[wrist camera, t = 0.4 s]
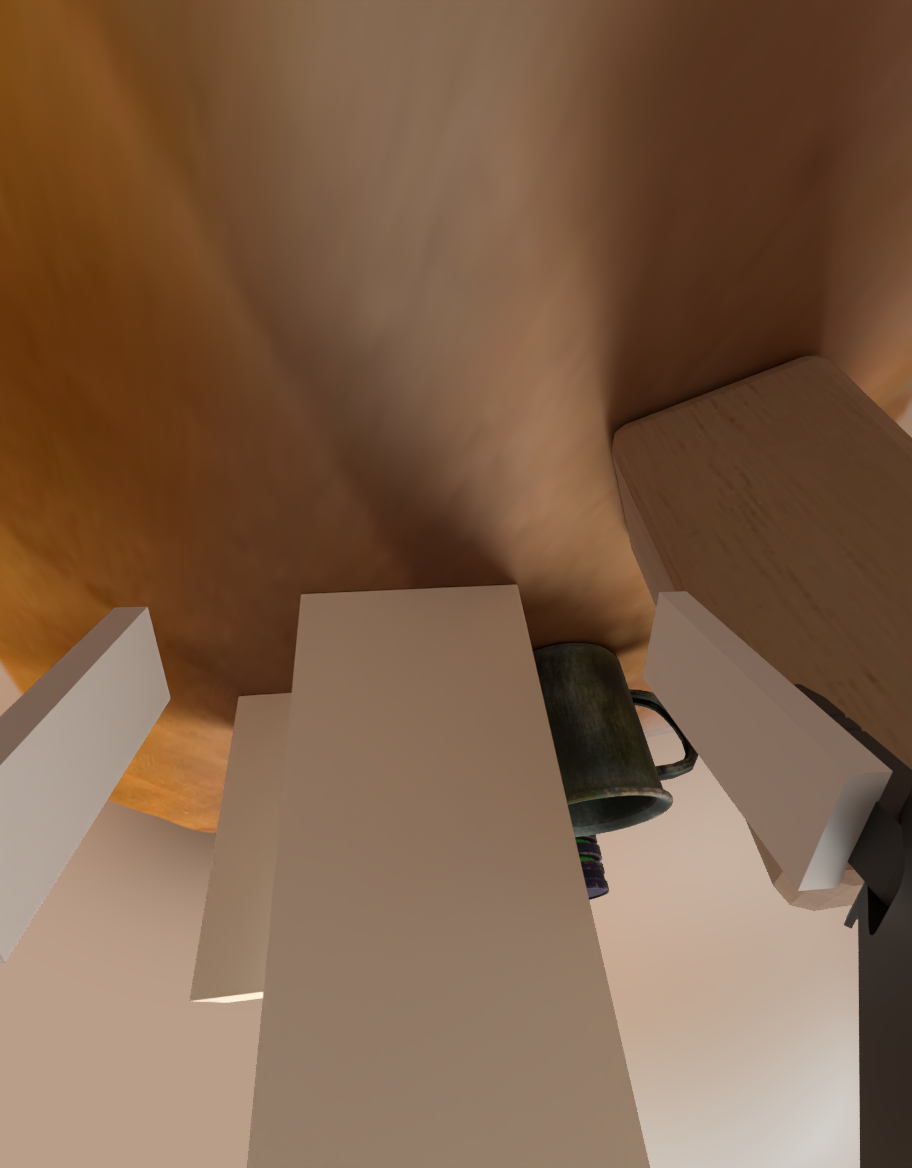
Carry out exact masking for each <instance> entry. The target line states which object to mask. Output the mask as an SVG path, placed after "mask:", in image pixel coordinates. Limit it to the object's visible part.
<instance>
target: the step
mask: <svg viewBox="0 0 912 1168" xmlns="http://www.w3.org/2000/svg"><path fill="white" fill-rule="evenodd" d="M291 695H292V693H280V694H265V695H249V696H239V697H238V704H237V710H236V716H235V722H234V728H233V735H232V741H231V747H230V753H229V759H228V766H227V772H226V778H225V784H224V790H223V797H222V803H221V809H220V815H219V821H218V828H217V834H216V840H215V847H214V853H213V858H212V865H211V871H210V877H209V883H208V890H207V896H206V902H205V908H204V915H203V921H202V927H201V933H200V939H199V945H198V952H197V958H196V964H195V970H194V976H193V983H192V989H191V995H190V1001H200V1002H201V1001H202V1002H224V1003H228V1002H236V1001H243V1000H251V999H259V998H263V992H264V981H265V971H266V960H267V949H268V939H269V928H270V918H271V907H272V896H273V886H274V875H275V864H276V854H277V843H278V833H279V822H280V811H281V801H282V790H283V779H284V769H285V758H286V748H287V737H288V726H289V716H290V705H291Z"/></svg>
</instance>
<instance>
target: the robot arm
mask: <svg viewBox="0 0 912 1168" xmlns="http://www.w3.org/2000/svg"><path fill="white" fill-rule="evenodd" d="M643 679H644V680H645V682H646V683H647V684H648V686H649V687H650V688H651V690H652V691H653V693H654V694H655V695H656V697H657V698H658V699H659V701H660V702H661V704H662V705H663V706H664V708H665V709H666V710H667V712H668V713H669V715H670V716H671V717H672V719H673V720H674V721H675V723H676V724H677V726H678V727H679V728H680V730H681V731H682V732H683V734H684V735H685V737H686V738H687V739H688V741H689V742H690V744H691V745H692V746H693V748H694V749H695V750H696V752H697V753H698V755H699V756H700V757H701V759H702V760H703V761H704V763H705V764H706V765H707V767H708V768H709V769H710V771H711V772H712V774H713V775H714V777H715V778H716V779H717V781H718V782H719V783H720V785H721V786H722V787H723V789H724V790H725V792H726V793H727V794H728V796H729V797H730V798H731V800H732V801H733V803H734V804H735V805H736V807H737V808H738V810H739V811H740V812H741V814H742V815H743V816H744V818H745V819H746V821H747V822H748V823H749V825H750V826H751V827H752V829H753V830H754V832H755V833H756V834H757V836H758V837H759V838H760V840H761V841H762V843H763V844H764V845H765V847H766V848H767V850H768V851H769V852H770V854H771V855H772V856H773V858H774V859H775V861H776V862H777V863H778V865H779V866H780V867H781V869H782V870H783V872H784V873H785V874H786V876H787V877H788V878H789V880H790V881H791V883H792V884H793V885H794V887H795V888H796V889H797V891H806V890H817V889H829V888H837V887H838V885H839V883H840V881H841V879H842V877H843V875H844V873H845V871H846V869H847V866H848V864H850V865H851V866H852V868H853V869H854V870H855V871H856V872H857V873H858V874H859V876H860V877H861V878H862V879H863V880H864V881H865V882H864V884H863V886H862V888H861V890H860V892H859V894H858V895H857V897H856V899H855V901H854V903H853V905H852V908H851V909H850V911H849V913H848V916H847V918H846V921H845V923H844V925H845V926H847V927H849V928H852V926H853V924H854V923H855V921H856V919H858V926H859V927H858V934H859V935H858V936H859V1065H860V1066H859V1074H860V1168H912V770H911V769H910V768H909V767H908V766H907V765H905V764H904V763H903V762H902V761H901V760H899V759H898V758H897V757H896V756H895V755H894V754H892V753H891V752H890V751H889V750H888V749H886V748H885V747H884V746H883V745H882V744H880V743H879V742H878V741H877V740H876V739H874V738H873V737H872V736H871V735H870V734H868V733H867V732H866V731H862V729H861V727H860V726H859V725H858V724H856V723H855V722H854V721H853V720H852V719H850V718H849V717H847V718H846V717H845V714H844V713H843V712H842V711H841V710H840V709H839V708H837V707H836V706H835V705H834V704H833V703H831V702H830V701H829V700H828V699H827V698H825V697H823V696H822V695H820V694H818V693H816V692H814V691H812V690H810V689H808V688H807V687H805V686H803V685H801V684H792V683H791V682H790V681H789V680H787V679H786V678H785V677H784V676H783V675H782V674H781V673H779V672H778V671H777V670H776V669H775V668H774V667H773V666H771V665H770V664H769V663H768V662H767V661H766V660H765V659H763V658H762V657H761V656H760V655H759V654H758V653H756V652H755V651H754V650H753V649H752V648H751V647H750V646H748V645H747V644H746V643H745V642H744V641H743V640H742V639H740V638H739V637H738V636H737V635H736V634H735V633H734V632H732V631H731V630H730V629H729V628H728V627H727V626H726V625H724V624H723V623H722V622H721V621H720V620H719V619H717V618H716V617H715V616H714V615H713V614H712V613H711V612H709V611H708V610H707V609H706V608H705V607H704V606H703V605H701V604H700V603H699V602H698V601H697V600H696V599H695V598H693V597H692V596H691V595H690V594H689V593H688V592H686V591H680V592H659V596H658V601H657V606H656V611H655V616H654V621H653V626H652V631H651V637H650V642H649V647H648V652H647V657H646V662H645V667H644V672H643ZM170 699H171V698H170V694H169V690H168V686H167V682H166V678H165V674H164V670H163V666H162V662H161V658H160V654H159V650H158V646H157V642H156V638H155V634H154V630H153V626H152V622H151V618H150V614H149V610H148V607H115V608H113V609H112V610H111V611H110V612H109V613H108V614H107V615H106V616H105V617H104V618H103V619H102V620H101V621H100V622H99V623H98V624H97V625H96V626H95V627H94V628H93V629H92V630H90V631H89V632H88V633H87V634H86V635H85V636H84V637H83V638H82V639H81V640H80V641H79V642H78V643H77V644H76V645H75V646H74V647H73V648H72V649H71V650H70V651H68V652H67V653H66V654H65V655H64V656H63V657H62V658H61V659H60V660H59V661H58V662H57V663H56V664H55V665H54V666H53V667H52V668H51V669H50V670H49V671H48V672H46V673H45V674H44V675H43V676H42V677H41V678H40V679H39V680H38V681H37V682H36V683H35V684H34V685H33V686H32V687H31V688H30V689H29V690H28V691H27V692H26V693H24V694H23V695H22V696H21V697H20V698H19V699H18V700H17V701H16V702H15V703H14V704H13V705H12V706H11V707H10V708H9V709H8V710H7V711H6V712H5V713H4V714H3V715H2V716H0V963H4V962H6V960H7V959H8V957H9V956H10V954H11V953H12V951H13V950H14V948H15V946H16V945H17V943H18V941H19V940H20V938H21V936H22V935H23V934H24V932H25V930H26V929H27V927H28V926H29V924H30V922H31V921H32V919H33V918H34V916H35V914H36V913H37V911H38V909H39V908H40V906H41V905H42V903H43V902H44V900H45V898H46V897H47V895H48V894H49V892H50V890H51V889H52V887H53V886H54V884H55V882H56V881H57V879H58V878H59V876H60V874H61V873H62V871H63V870H64V868H65V866H66V865H67V863H68V862H69V860H70V858H71V857H72V855H73V854H74V852H75V851H76V849H77V847H78V846H79V844H80V842H81V841H82V839H83V838H84V836H85V834H86V833H87V831H88V830H89V828H90V827H91V825H92V823H93V822H94V820H95V819H96V817H97V815H98V814H99V812H100V811H101V809H102V807H103V806H104V804H105V803H106V801H107V799H108V798H109V796H110V795H111V793H112V791H113V790H114V788H115V787H116V785H117V784H118V782H119V780H120V779H121V777H122V776H123V774H124V772H125V771H126V769H127V768H128V766H129V764H130V763H131V761H132V760H133V758H134V756H135V755H136V753H137V752H138V750H139V748H140V747H141V745H142V744H143V742H144V740H145V739H146V737H147V736H148V734H149V732H150V731H151V729H152V728H153V726H154V724H155V723H156V721H157V720H158V718H159V716H160V715H161V713H162V712H163V710H164V708H165V707H166V705H167V704H168V702H169V701H170Z"/></svg>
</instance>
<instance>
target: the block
mask: <svg viewBox="0 0 912 1168" xmlns="http://www.w3.org/2000/svg"><path fill="white" fill-rule="evenodd" d="M612 456H613V461H614V466H615V471H616V475H617V480H618V485H619V490H620V495H621V499H622V504H623V509H624V514H625V519H626V523H627V528H628V533H629V538H630V543H631V547H632V550H633V553H634V555H635V557H636V560H637V562H638V565H639V567H640V569H641V572H642V574H643V577H644V579H645V581H646V584H647V586H648V588H649V591H650V593H651V596H652V598H653V600H654V603H655V605H656V606H657V601H658V596H659V592H680V591H686V592H688V593H689V594H690V595H691V596H692V597H693V598H695V599H696V600H697V601H698V602H699V603H700V604H701V605H703V606H704V607H705V608H706V609H707V610H708V611H709V612H711V613H712V614H713V615H714V616H715V617H716V618H717V619H719V620H720V621H721V622H722V623H723V624H724V625H726V626H727V627H728V628H729V629H730V630H731V631H732V632H734V633H735V634H736V635H737V636H738V637H739V638H740V639H742V640H743V641H744V642H745V643H746V644H747V645H748V646H750V647H751V648H752V649H753V650H754V651H755V652H756V653H758V654H759V655H760V656H761V657H762V658H763V659H765V660H766V661H767V662H768V663H769V664H770V665H771V666H773V667H774V668H775V669H776V670H777V671H778V672H779V673H781V674H782V675H783V676H784V677H785V678H786V679H787V680H789V681H790V682H791V683H792V684H801V685H803V686H805V687H807V688H808V689H810V690H812V691H814V692H816V693H818V694H820V695H822V696H823V697H825V698H827V699H828V700H829V701H830V702H831V703H833V704H834V705H835V706H836V707H837V708H839V709H840V710H841V711H842V712H843V713H844V714H845V717H846V718H847V717H849V718H850V719H852V720H853V721H854V722H855V723H856V724H858V725H859V726H860V727H861V729H862V731H866V732H867V733H868V734H870V735H871V736H872V737H873V738H874V739H876V740H877V741H878V742H879V743H880V744H882V745H883V746H884V747H885V748H886V749H888V750H889V751H890V752H891V753H892V754H894V755H895V756H896V757H897V758H898V759H899V760H901V761H902V762H903V763H904V764H905V765H907V766H908V767H909V768H910V769H911V770H912V438H911V437H910V436H909V435H908V434H907V433H906V432H905V431H904V430H903V429H902V428H901V427H900V426H899V425H898V424H897V423H896V422H894V421H893V420H892V419H891V418H890V417H889V416H888V415H887V414H886V413H885V412H884V411H883V410H882V409H881V408H880V407H879V406H878V405H877V404H876V403H875V402H874V401H873V400H872V399H871V398H869V397H868V396H867V395H866V394H865V393H864V392H863V391H862V390H861V389H860V388H859V387H858V386H857V385H856V384H855V383H854V382H853V381H852V380H851V379H850V378H849V377H848V376H847V375H845V374H844V373H843V372H842V371H841V370H840V369H839V368H838V367H837V366H836V365H835V364H834V363H833V362H832V361H831V360H830V359H829V358H826V357H822V356H819V355H815V356H804V357H801V358H798V359H795V360H793V361H790V362H787V363H785V364H782V365H780V366H777V367H774V368H772V369H769V370H766V371H764V372H761V373H759V374H756V375H753V376H751V377H748V378H745V379H743V380H740V381H738V382H735V383H732V384H730V385H727V386H724V387H722V388H719V389H717V390H714V391H711V392H709V393H706V394H703V395H701V396H698V397H696V398H693V399H690V400H688V401H685V402H682V403H680V404H677V405H675V406H672V407H669V408H667V409H664V410H662V411H659V412H656V413H654V414H651V415H648V416H646V417H643V418H641V419H638V420H635V421H633V422H630V423H627V424H625V425H624V426H623V427H621V428H620V429H619V430H617V431H616V432H615V434H614V439H613V445H612ZM747 824H748V826H749V829H750V831H751V833H752V836H753V838H754V841H755V843H756V845H757V848H758V850H759V853H760V855H761V857H762V860H763V862H764V865H765V867H766V869H767V872H768V874H769V876H770V879H771V881H772V884H773V886H774V887H775V888H776V889H777V890H778V892H779V893H780V894H781V895H782V896H783V897H784V898H785V899H786V901H787V902H788V903H789V904H790V905H792V906H796V907H801V908H805V909H809V910H813V911H815V910H822V909H828V908H835V907H841V906H848V905H853V903H854V901H855V899H856V897H857V895H858V894H859V892H860V890H861V888H862V886H863V884H864V882H865V881H864V880H863V879H862V878H861V877H860V876H859V874H858V873H857V872H856V871H855V870H854V869H853V868H852V866H851V865H850V864H848V866H847V869H846V871H845V873H844V875H843V877H842V879H841V881H840V883H839V885H838V887H837V888H829V889H817V890H806V891H797V889H796V888H795V887H794V885H793V884H792V883H791V881H790V880H789V878H788V877H787V876H786V874H785V873H784V872H783V870H782V869H781V867H780V866H779V865H778V863H777V862H776V861H775V859H774V858H773V856H772V855H771V854H770V852H769V851H768V850H767V848H766V847H765V845H764V844H763V843H762V841H761V840H760V838H759V837H758V836H757V834H756V833H755V832H754V830H753V829H752V827H751V826H750V825H749V823H748V822H747Z"/></svg>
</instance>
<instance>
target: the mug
mask: <svg viewBox="0 0 912 1168" xmlns="http://www.w3.org/2000/svg"><path fill="white" fill-rule="evenodd" d="M533 655H534V660H535V664H536V669H537V673H538V677H539V682H540V686H541V691H542V695H543V699H544V704H545V708H546V713H547V717H548V721H549V726H550V730H551V735H552V739H553V743H554V748H555V752H556V757H557V761H558V765H559V770H560V774H561V779H562V783H563V787H564V792H565V796H566V800H567V805H568V809H569V814H570V818H571V822H572V827H573V831H574V836H575V837H580V836H588V835H594V834H600V833H605V832H610V831H615V830H618V829H623V828H626V827H630V826H633V825H637V824H640V823H642V822H645V821H648V820H650V819H652V818H655V817H657V816H659V815H661V814H662V813H664V812H665V811H667V810H668V809H669V808H670V807H671V805H672V803H673V798H672V795H671V794H670V793H669V792H668V791H666V790H663V787H662V785H661V782H660V781H661V780H667V779H673V778H675V777H678V776H680V775H682V774H685V773H687V772H689V771H691V770H692V769H693V767H694V764H695V762H696V760H697V757H698V753H697V752H696V750H695V749H694V748H693V746H692V745H691V744H690V742H689V741H688V739H687V738H686V737H685V735H684V734H683V732H682V731H681V730H680V728H679V727H678V726H677V724H676V723H675V721H674V720H673V719H672V717H671V716H670V715H669V713H668V712H667V710H666V709H665V708H664V706H663V705H662V704H661V702H660V701H659V699H658V698H657V697H656V695H655V694H654V693H652V692H648V691H642V690H632V689H629V688H628V685H627V682H626V679H625V677H624V674H623V671H622V668H621V665H620V662H619V660H618V658H617V657H616V656H615V655H614V654H612V653H611V652H610V651H608V650H607V649H605V648H603V647H601V646H598V645H594V644H588V643H566V644H558V645H553V646H548V647H544V648H541V649H538V650H535V651H533ZM634 705H638V706H643V707H647V708H650V709H652V710H654V711H656V712H657V713H658V714H660V715H661V716H662V717H663V718H664V719H665V720H666V721H667V722H668V723H669V724H670V725H671V727H672V728H673V729H674V730H675V732H676V733H677V735H678V737H679V738H680V740H681V741H682V744H683V747H684V750H685V754H686V755H685V758H684V759H683V760H681V761H678V762H676V763H674V764H667V765H661V766H655V765H654V762H653V759H652V756H651V753H650V750H649V747H648V744H647V741H646V738H645V735H644V732H643V729H642V726H641V724H640V721H639V718H638V715H637V712H636V709H635V706H634Z"/></svg>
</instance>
